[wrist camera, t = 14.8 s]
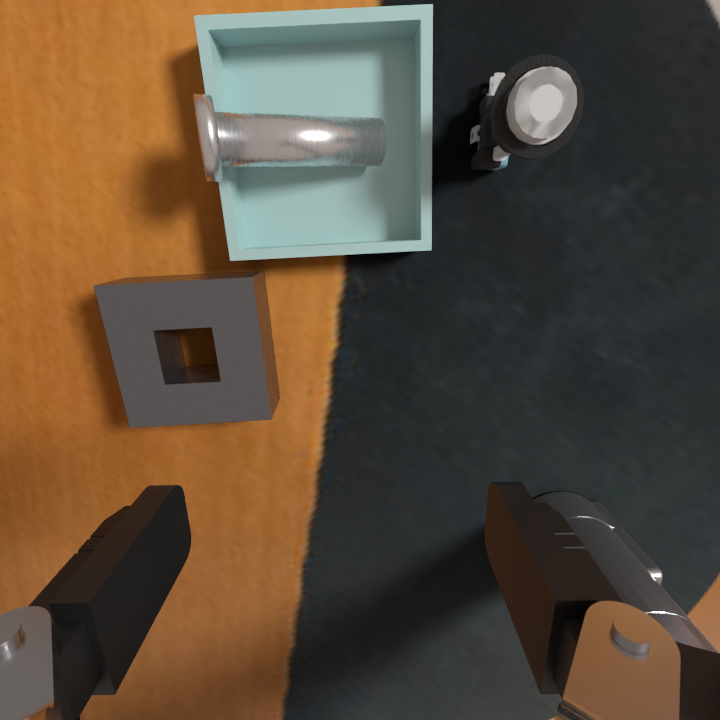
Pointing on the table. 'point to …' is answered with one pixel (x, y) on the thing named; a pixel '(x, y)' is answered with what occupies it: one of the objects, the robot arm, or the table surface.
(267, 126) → the steel pin
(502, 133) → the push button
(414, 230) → the tray
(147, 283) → the hitch block
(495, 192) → the table surface
